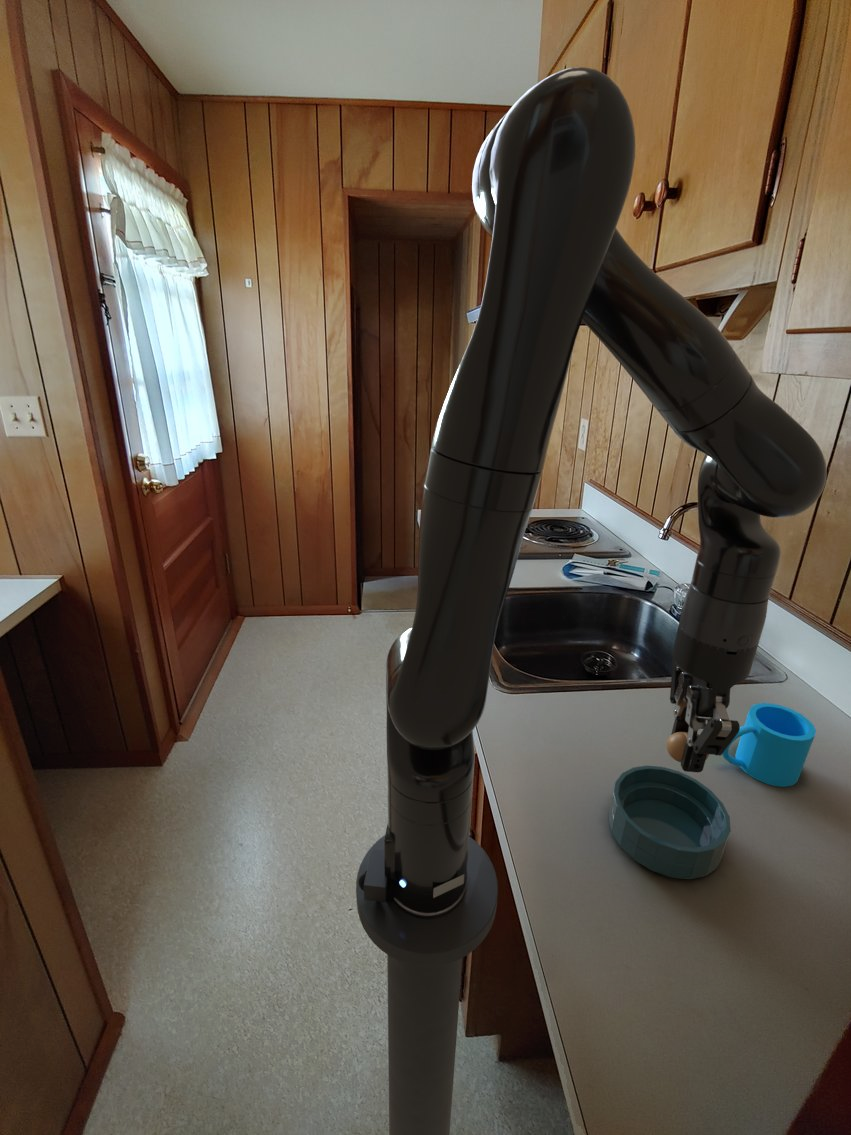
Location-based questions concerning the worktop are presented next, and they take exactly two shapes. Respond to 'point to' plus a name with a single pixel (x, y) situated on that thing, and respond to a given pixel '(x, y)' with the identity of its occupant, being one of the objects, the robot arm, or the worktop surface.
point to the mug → (773, 744)
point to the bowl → (669, 822)
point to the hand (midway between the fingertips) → (685, 756)
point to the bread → (677, 745)
